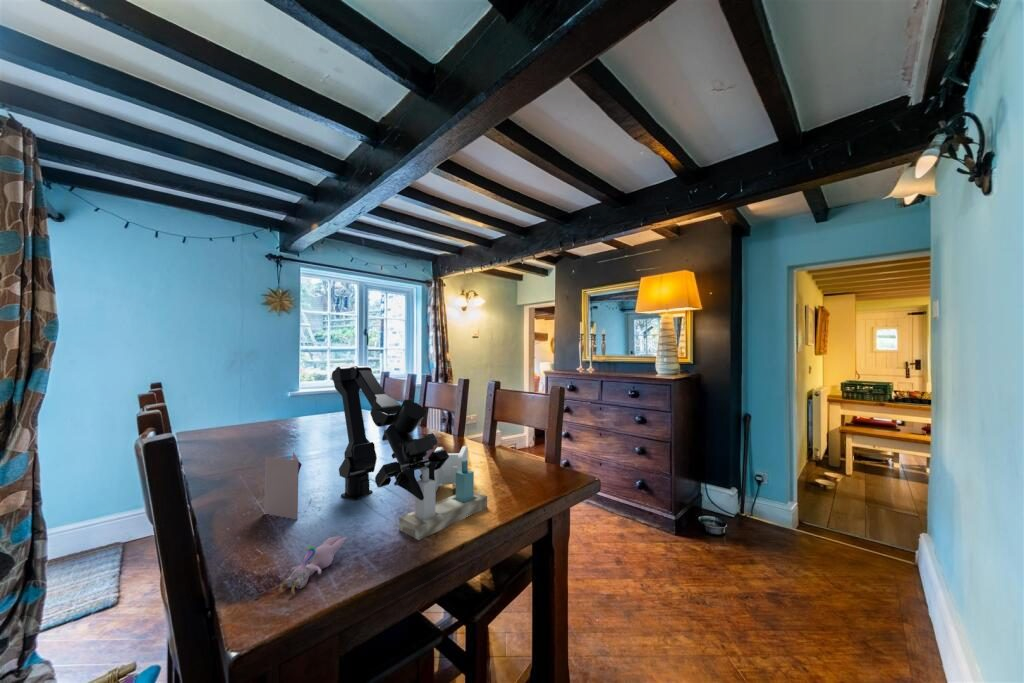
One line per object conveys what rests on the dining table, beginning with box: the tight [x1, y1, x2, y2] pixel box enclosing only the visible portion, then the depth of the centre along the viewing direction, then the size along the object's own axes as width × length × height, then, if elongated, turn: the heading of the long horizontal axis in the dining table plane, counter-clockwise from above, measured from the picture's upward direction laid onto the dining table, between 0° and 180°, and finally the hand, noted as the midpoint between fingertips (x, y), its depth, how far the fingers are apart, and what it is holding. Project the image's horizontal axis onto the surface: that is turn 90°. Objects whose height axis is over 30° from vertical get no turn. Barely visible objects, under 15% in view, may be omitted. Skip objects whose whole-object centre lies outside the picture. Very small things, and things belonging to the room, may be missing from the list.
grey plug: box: [414, 468, 437, 521], centre depth 87 cm, size 3×3×13 cm
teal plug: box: [455, 459, 475, 503], centre depth 97 cm, size 3×3×13 cm
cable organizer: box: [433, 445, 469, 492], centre depth 114 cm, size 15×11×12 cm
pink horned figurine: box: [278, 535, 348, 596], centre depth 70 cm, size 6×6×15 cm
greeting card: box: [263, 451, 302, 521], centre depth 94 cm, size 11×7×15 cm, turn 37°
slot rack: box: [398, 491, 488, 541], centre depth 92 cm, size 22×8×3 cm, turn 141°
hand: (428, 497), depth 86 cm, fingers closed on grey plug, 3 cm apart
